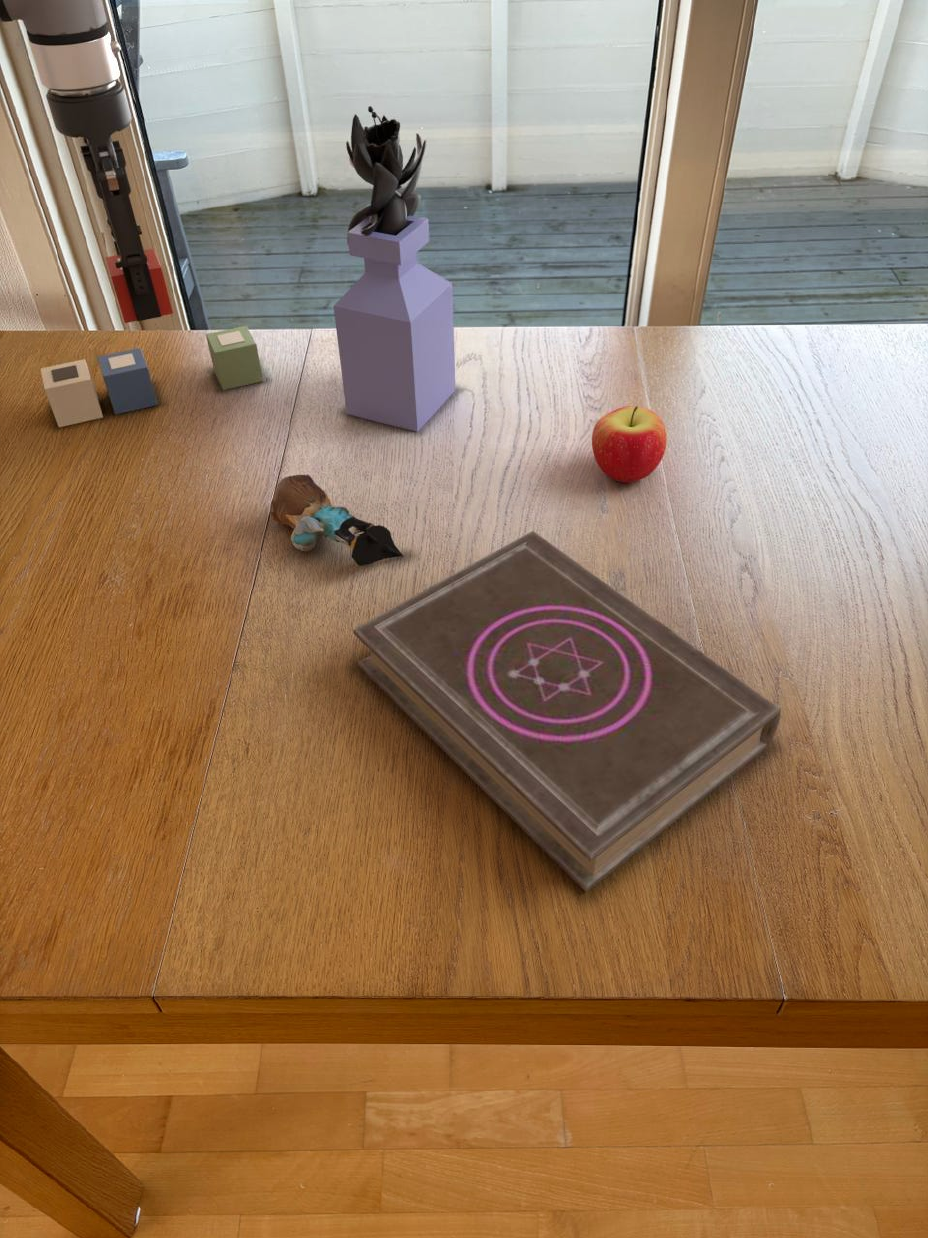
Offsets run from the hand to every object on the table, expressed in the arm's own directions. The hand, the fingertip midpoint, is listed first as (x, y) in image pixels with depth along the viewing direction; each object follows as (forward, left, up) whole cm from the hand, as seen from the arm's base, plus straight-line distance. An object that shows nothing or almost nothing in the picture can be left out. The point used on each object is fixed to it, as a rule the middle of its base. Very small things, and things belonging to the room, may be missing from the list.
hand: (145, 305), depth 110 cm
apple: (+46, -34, -15) cm, 59 cm away
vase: (+28, -8, -15) cm, 33 cm away
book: (+23, -62, -15) cm, 68 cm away
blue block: (-4, +7, -15) cm, 17 cm away
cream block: (-11, +7, -15) cm, 20 cm away
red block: (0, 0, 0) cm, 0 cm away
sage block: (+10, +7, -15) cm, 19 cm away
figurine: (+11, -32, -15) cm, 37 cm away
